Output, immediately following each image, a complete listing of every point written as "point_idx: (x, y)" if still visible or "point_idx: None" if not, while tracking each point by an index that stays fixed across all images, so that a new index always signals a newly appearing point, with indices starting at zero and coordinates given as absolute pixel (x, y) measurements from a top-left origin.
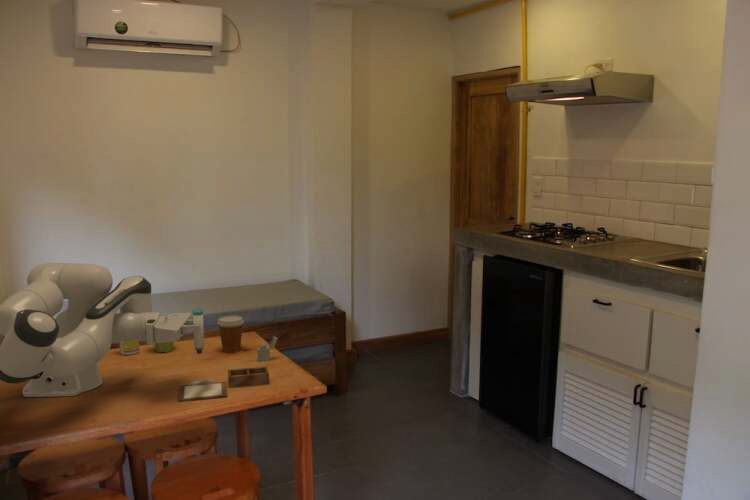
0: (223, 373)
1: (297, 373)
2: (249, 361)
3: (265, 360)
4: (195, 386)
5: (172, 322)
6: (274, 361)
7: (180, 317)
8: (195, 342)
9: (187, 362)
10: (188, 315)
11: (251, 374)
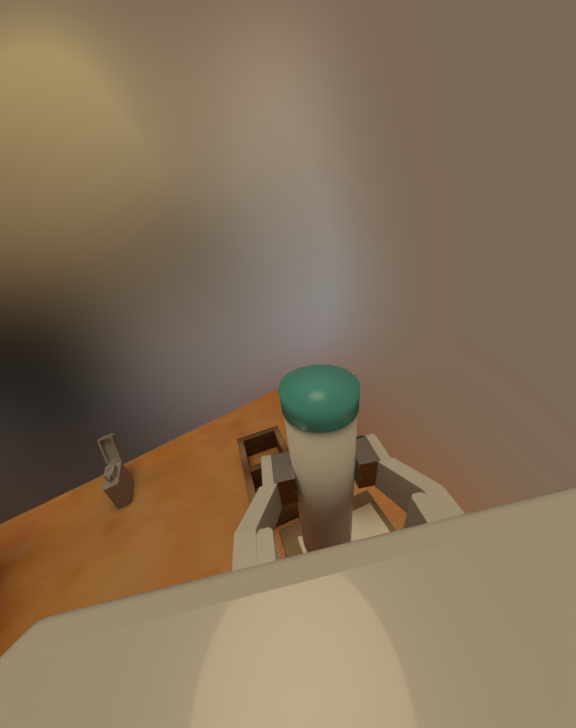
0: (199, 576)
1: (229, 417)
2: (118, 527)
3: (132, 488)
4: None
5: (535, 721)
6: (148, 468)
7: (231, 707)
8: (351, 529)
9: None
10: (146, 606)
11: (285, 451)
